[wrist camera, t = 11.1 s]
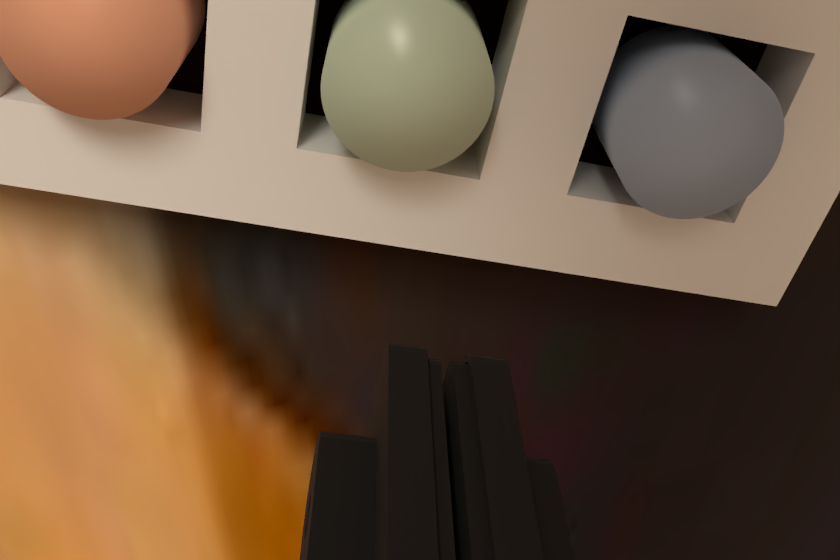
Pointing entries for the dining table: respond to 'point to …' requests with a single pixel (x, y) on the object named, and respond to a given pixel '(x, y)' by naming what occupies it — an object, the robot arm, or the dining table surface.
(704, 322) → the dining table surface
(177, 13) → the button terracotta
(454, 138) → the button sage
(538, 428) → the dining table surface
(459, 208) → the console
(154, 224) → the dining table surface
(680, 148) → the button slate
